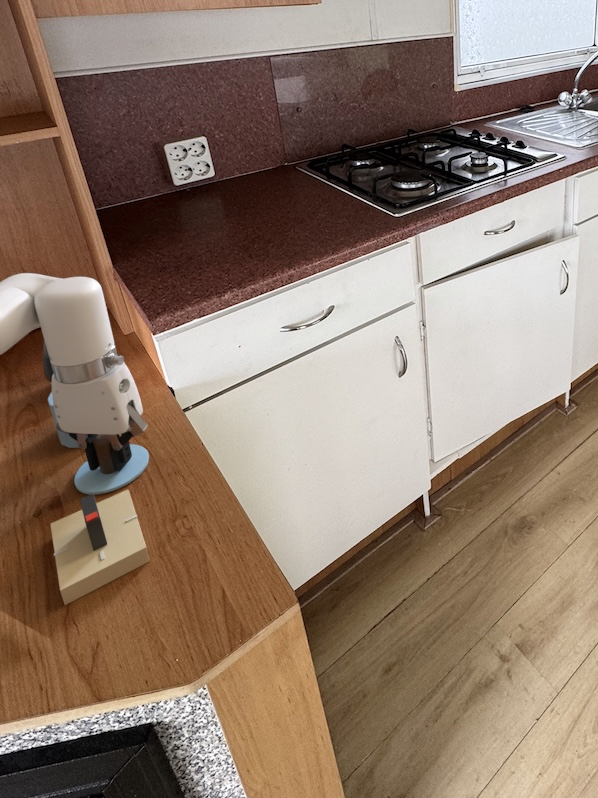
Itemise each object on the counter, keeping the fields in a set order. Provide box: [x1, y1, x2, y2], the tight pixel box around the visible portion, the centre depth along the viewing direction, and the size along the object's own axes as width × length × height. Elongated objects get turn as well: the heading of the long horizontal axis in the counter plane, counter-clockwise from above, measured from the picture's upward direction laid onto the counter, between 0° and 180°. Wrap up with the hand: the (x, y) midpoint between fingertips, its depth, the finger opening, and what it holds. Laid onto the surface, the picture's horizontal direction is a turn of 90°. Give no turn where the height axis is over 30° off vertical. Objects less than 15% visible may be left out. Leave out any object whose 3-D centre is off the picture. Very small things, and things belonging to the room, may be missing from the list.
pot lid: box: [73, 434, 150, 496], centre depth 88 cm, size 10×10×7 cm
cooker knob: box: [79, 494, 107, 551], centre depth 75 cm, size 5×2×5 cm, turn 42°
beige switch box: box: [50, 489, 151, 606], centre depth 76 cm, size 12×9×3 cm
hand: (111, 463), depth 88 cm, fingers closed on pot lid, 3 cm apart
